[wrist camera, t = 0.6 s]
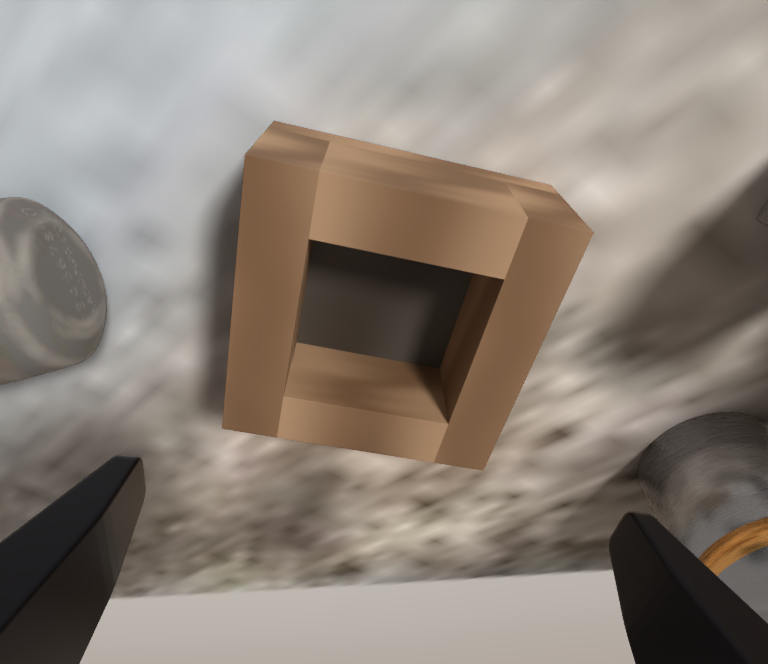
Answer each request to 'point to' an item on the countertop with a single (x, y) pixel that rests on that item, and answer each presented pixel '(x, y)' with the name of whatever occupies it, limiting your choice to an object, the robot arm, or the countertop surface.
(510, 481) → the countertop surface
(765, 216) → the square bit
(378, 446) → the block
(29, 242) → the pipe fitting
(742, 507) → the cylinder
